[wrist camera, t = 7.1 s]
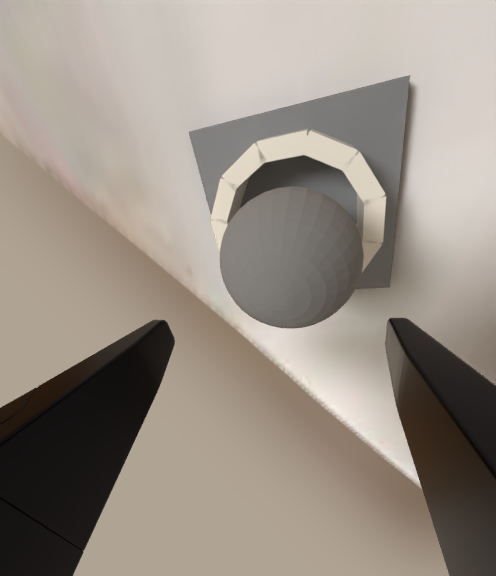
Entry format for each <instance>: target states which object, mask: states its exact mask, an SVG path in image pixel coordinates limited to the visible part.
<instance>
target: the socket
mask: <svg viewBox="0 0 496 576" xmlns="http://www.w3.org/2000/svg"><path fill="white" fill-rule="evenodd" d="M409 79H410V75H409V76H405V77H401V78H397V79H393V80H389V81H385V82H382V83H378V84H374V85H370V86H366V87H362V88H358V89H354V90H350V91H346V92H343V93H339V94H335V95H331V96H327V97H323V98H319V99H315V100H311V101H307V102H304V103H300V104H296V105H292V106H288V107H284V108H280V109H276V110H272V111H268V112H265V113H261V114H257V115H253V116H249V117H245V118H241V119H237V120H233V121H230V122H226V123H222V124H218V125H214V126H210V127H206V128H202V129H198V130H194V131H191V132H189V135H190V139H191V143H192V146H193V150H194V154H195V157H196V161H197V165H198V168H199V172H200V176H201V180H202V183H203V187H204V191H205V194H206V198H207V202H208V205H209V209H210V213H211V219H212V220H211V223H212V227H213V231H214V234H215V238H216V242H217V245H218V249H219V253H220V248H221V243H222V238H223V234H224V232H225V230H226V228H227V225H228V223H229V222H230V221H231V219H232V218H233V217H234V215H235V214H236V213H237V211H238V210H239V209H240V208H241V207H243V206H244V205H245V204H246V203H247V202H248V201H249V200H251V199H253V198H255V197H257V196H258V195H260V194H262V193H264V192H267V191H270V190H273V189H276V188H283V187H302V188H309V189H312V190H315V191H318V192H321V193H323V194H325V195H327V196H328V197H330V198H332V199H334V200H335V201H336V202H337V203H338V204H339V205H341V206H342V207H343V208H344V209H345V210H346V211H347V213H348V214H349V215H350V217H351V218H352V220H353V221H354V223H355V224H356V227H357V229H358V232H359V234H360V237H361V240H362V245H363V253H364V259H363V268H362V273H361V276H360V279H359V282H358V284H357V286H356V288H355V289H358V288H383V287H390V278H391V267H392V257H393V246H394V236H395V226H396V215H397V205H398V194H399V184H400V173H401V163H402V152H403V142H404V131H405V121H406V110H407V100H408V89H409Z"/></svg>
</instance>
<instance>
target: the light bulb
mask: <svg viewBox="0 0 496 576" xmlns="http://www.w3.org/2000/svg"><path fill="white" fill-rule="evenodd" d="M363 259H364V253H363V245H362V240H361V237H360V234H359V232H358V229H357V227H356V224H355V223H354V221H353V220H352V218H351V217H350V215H349V214H348V213H347V211H346V210H345V209H344V208H343V207H342V206H341V205H339V204H338V203H337V202H336V201H335V200H334V199H332V198H330V197H328V196H327V195H325V194H323V193H321V192H318V191H315V190H312V189H309V188H302V187H283V188H276V189H273V190H270V191H267V192H264V193H262V194H260V195H258V196H257V197H255V198H253V199H251V200H249V201H248V202H247V203H246V204H245V205H244V206H243V207H241V208H240V209H239V210H238V211H237V213H236V214H235V215H234V217H233V218H232V219H231V221H230V222H229V223H228V225H227V228H226V230H225V232H224V234H223V238H222V243H221V248H220V269H221V273H222V277H223V281H224V283H225V286H226V288H227V290H228V292H229V294H230V295H231V297H232V298H233V300H234V301H235V303H236V304H237V305H238V306H239V307H240V308H241V309H242V310H243V311H244V312H245V313H247V314H248V315H249V316H251V317H252V318H254V319H256V320H258V321H260V322H262V323H265V324H267V325H270V326H275V327H280V328H302V327H306V326H310V325H314V324H316V323H318V322H321V321H323V320H325V319H327V318H328V317H330V316H331V315H333V314H334V313H335V312H337V311H338V310H339V309H340V308H341V307H342V306H343V305H344V304H345V303H346V302H347V301H348V300H349V298H350V296H351V295H352V293H353V292H354V290H355V288H356V286H357V284H358V282H359V279H360V276H361V273H362V268H363Z"/></svg>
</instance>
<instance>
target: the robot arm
mask: <svg viewBox="0 0 496 576" xmlns="http://www.w3.org/2000/svg"><path fill="white" fill-rule="evenodd" d="M174 343H175V340H174V336H173V334H172V332H171V330H170V328H169V325H168V323H167V322H166V321H165V320H153V321H151V322H149V323H147V324H146V325H144V326H142V327H140V328H139V329H137V330H135V331H134V332H132V333H130V334H128V335H126V336H125V337H123V338H121V339H119V340H118V341H116V342H115V343H113V344H111V345H109V346H107V347H106V348H104V349H102V350H100V351H99V352H97V353H96V354H94V355H92V356H90V357H88V358H87V359H85V360H83V361H82V362H80V363H78V364H76V365H74V366H73V367H71V368H69V369H68V370H66V371H64V372H62V373H61V374H59V375H57V376H55V377H54V378H52V379H50V380H48V381H47V382H45V383H43V384H42V385H40V386H39V387H38V388H34V389H33V390H31V391H29V392H28V393H26V394H24V395H22V396H21V397H19V398H17V399H15V400H14V401H12V402H10V403H8V404H6V405H5V406H3V407H1V408H0V576H73V574H74V572H75V569H76V567H77V565H78V563H79V561H80V559H81V557H82V554H83V550H84V549H85V547H86V545H87V543H88V541H89V539H90V537H91V534H92V532H93V530H94V528H95V526H96V523H97V521H98V519H99V517H100V515H101V513H102V510H103V508H104V506H105V504H106V502H107V500H108V498H109V495H110V493H111V491H112V489H113V486H114V484H115V482H116V480H117V478H118V476H119V474H120V472H121V469H122V467H123V465H124V463H125V460H126V459H127V456H128V454H129V452H130V450H131V448H132V445H133V443H134V441H135V439H136V437H137V435H138V432H139V430H140V428H141V426H142V424H143V422H144V419H145V417H146V415H147V413H148V411H149V409H150V406H151V404H152V402H153V400H154V398H155V395H156V393H157V391H158V389H159V387H160V384H161V381H162V378H163V376H164V373H165V370H166V367H167V364H168V362H169V359H170V356H171V353H172V350H173V347H174ZM385 346H386V353H387V359H388V364H389V370H390V375H391V381H392V386H393V392H394V397H395V402H396V406H397V410H398V413H399V417H400V420H401V423H402V426H403V429H404V433H405V436H406V439H407V442H408V445H409V449H410V452H411V455H412V458H413V461H414V464H415V468H416V471H417V474H418V477H419V480H420V483H421V487H422V490H423V493H424V496H425V499H426V502H427V506H428V509H429V512H430V515H431V518H432V521H433V525H434V528H435V531H436V534H437V537H438V541H439V544H440V547H441V550H442V553H443V556H444V560H445V563H446V566H447V569H448V572H449V575H450V576H496V385H494V384H493V383H492V382H490V381H489V380H488V379H486V378H485V377H484V376H482V375H481V374H480V373H478V372H477V371H476V370H474V369H473V368H472V367H471V366H469V365H468V364H467V363H465V362H464V361H463V360H461V359H460V358H459V357H457V356H456V355H455V354H453V353H452V352H451V351H449V350H448V349H447V348H446V347H444V346H443V345H442V344H440V343H439V342H438V341H436V340H435V339H434V338H432V337H431V336H430V335H428V334H427V333H426V332H424V331H423V330H422V329H420V328H419V327H418V326H417V325H415V324H414V323H413V322H411V321H410V320H409V319H407V318H390V319H389V320H388V322H387V331H386V341H385Z"/></svg>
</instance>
